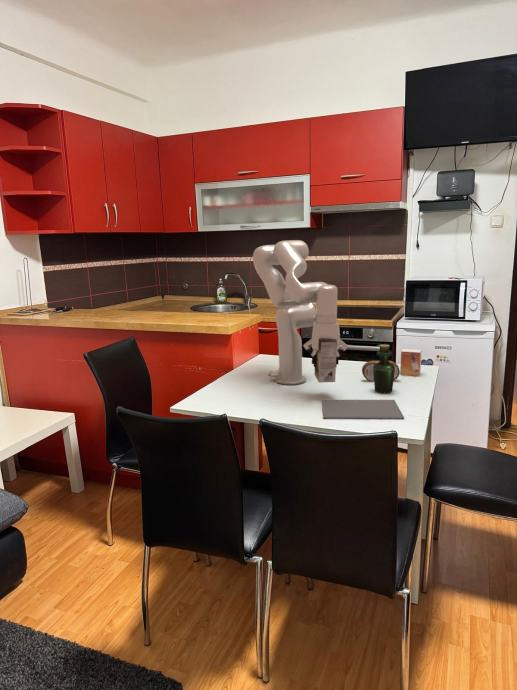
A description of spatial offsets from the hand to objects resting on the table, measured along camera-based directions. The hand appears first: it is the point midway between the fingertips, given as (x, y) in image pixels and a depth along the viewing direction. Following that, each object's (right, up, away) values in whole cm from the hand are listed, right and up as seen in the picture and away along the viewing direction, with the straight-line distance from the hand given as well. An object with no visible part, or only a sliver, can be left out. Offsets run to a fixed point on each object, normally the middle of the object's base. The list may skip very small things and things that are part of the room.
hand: (324, 365), depth 182 cm
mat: (+10, -15, -13) cm, 22 cm away
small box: (+41, -5, +28) cm, 50 cm away
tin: (+26, -7, +20) cm, 33 cm away
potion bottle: (+23, -10, +6) cm, 26 cm away
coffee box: (0, -5, +1) cm, 5 cm away
